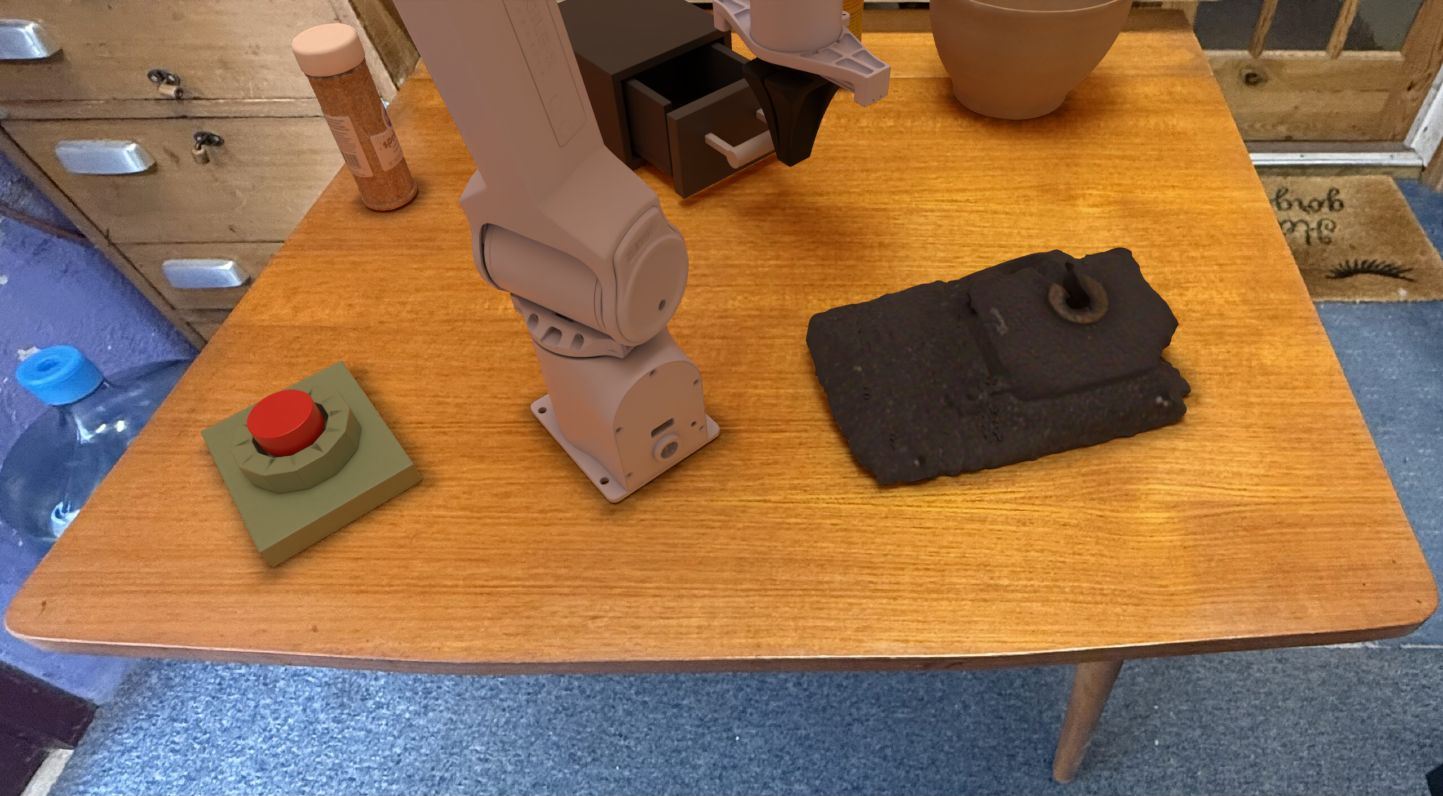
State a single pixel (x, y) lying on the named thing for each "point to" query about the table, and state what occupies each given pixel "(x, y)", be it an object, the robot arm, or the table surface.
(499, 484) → the table surface
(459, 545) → the table surface
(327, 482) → the control block
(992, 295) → the black stepped slab
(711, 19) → the cabinet
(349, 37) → the sprinkles bottle
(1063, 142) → the table surface
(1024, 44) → the planter bowl
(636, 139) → the drawer
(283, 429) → the button
